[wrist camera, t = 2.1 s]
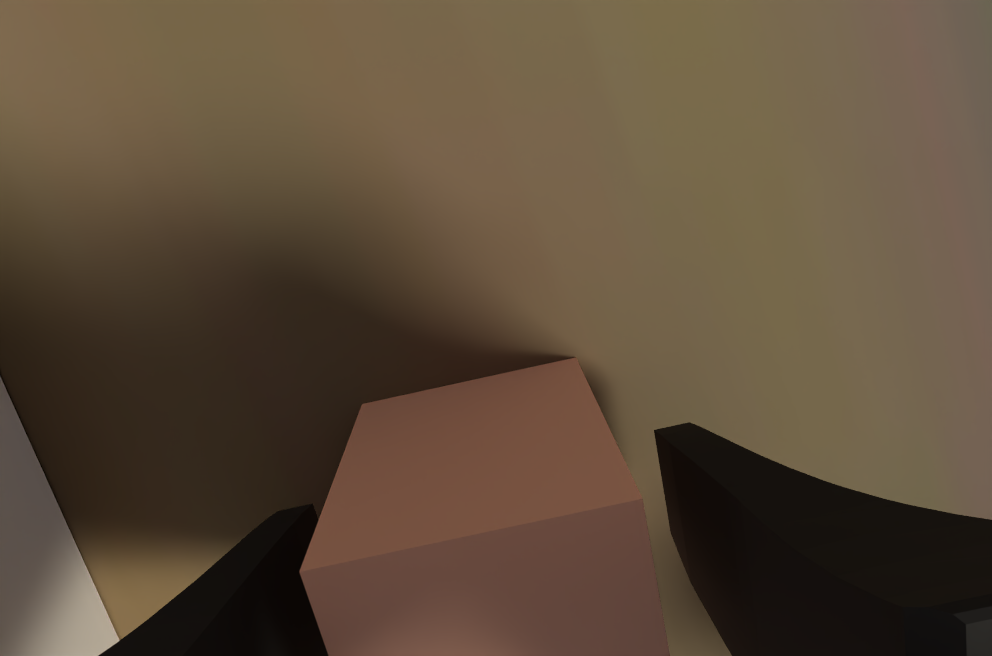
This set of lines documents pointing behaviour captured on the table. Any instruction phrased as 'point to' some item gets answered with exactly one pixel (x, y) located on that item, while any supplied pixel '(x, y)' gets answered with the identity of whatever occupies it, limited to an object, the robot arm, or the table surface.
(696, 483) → the robot arm
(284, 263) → the table surface
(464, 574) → the plug block
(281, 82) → the table surface
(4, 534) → the outlet block
